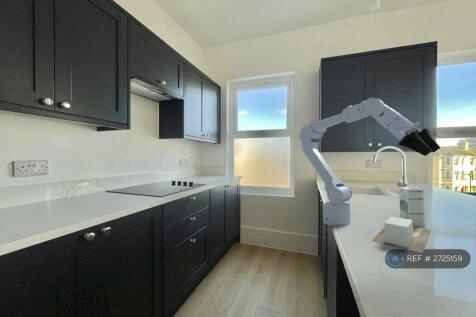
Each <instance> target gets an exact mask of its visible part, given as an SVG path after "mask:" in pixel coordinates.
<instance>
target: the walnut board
mask: <svg viewBox="0 0 476 317" xmlns="http://www.w3.org/2000/svg"><path fill="white" fill-rule="evenodd" d="M431 231H432V230H431V229H427V228H423V227H418V226H413V240H412V242H411V244H410V246H409V248H407V247H403V246H399V245H395V244H390V243H386V242H385V227H384V228H382V229H381V230H380V232H379V233H378V234H377V235H376V236H375V237H374V238H373V239H372V240H371V242H374V243H378V244H384V245H387V246H392V247H395V248H399V249H403V250H407V251H411V252H412V251H413V252H415V253H420V254H424V251H425V248H426V245H427V244H428V240H429V237H430V234H431Z"/></svg>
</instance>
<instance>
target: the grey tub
mask: <svg viewBox="0 0 476 317" xmlns="http://www.w3.org/2000/svg"><path fill="white" fill-rule="evenodd" d="M413 227H414V226H413V220H410V219H403V218H400V217H397V216H390V217H389V218H388V219H387V220H386V221H385V222H384V228H385V242H386V243H390V244H395V245H399V246H403V247H407V248H409V246H410V244H411V242H412V240H413Z"/></svg>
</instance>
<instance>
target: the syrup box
mask: <svg viewBox="0 0 476 317" xmlns="http://www.w3.org/2000/svg"><path fill="white" fill-rule="evenodd" d="M398 189H399V214H400V217H399V218H403V219H410V220H413V227H418V228H423V227H424V228H425V227H426V218H425V217H426V216H425V215H426V214H425V195H424V194H425V193H424V189H421V188H419V187H415V186H412V187H411V186H400V187H399V188H398Z"/></svg>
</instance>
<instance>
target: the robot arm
mask: <svg viewBox="0 0 476 317" xmlns="http://www.w3.org/2000/svg"><path fill="white" fill-rule="evenodd" d="M369 116H370V117H372V118H373V119H375V120H376V122H377V123H379V124H380V125H381V126H383V127H384V129H385V130H388V131H389V133H391V134H392V135H393V136H394V137H395V138H396V139H398V140H399V142H398V143H397V145H398V146H400V147H404V148H407V149H410V150H412V151H415V153H418V154H420V155H421V156H424V157H426V156H428V155H430V154H431V153H436V151H438V150H441V146H440V145H439V144H438V142H436V140H435V139H434V138H433V137H432V135H431V134H430V131H429V129H428V128H427V127H425V128H423V129H422V130H421V129H420V128H419V127H418V126H420V124H421V123H420V122H419V121H417V122H415V123H413V122H412V121H410V120H409V119H407V117H404V116H403V115H402V114H400V113H399V112H397V110H394V109H393V108H391V107H390V106H389V105H387V104H385V103H384V101H383V100H381V99H380V98H378V97H369V98H367V99H366V100H362V101H361V102H359V103H357V104H354V105H351V104H350V105H347V107H346V108H344V109H343V110H342V112H341V113H339V114H336V115H333V116H331V117H330V116H329V117H326V118H323V119H320V120H317V121H313V122H311V123H308V125H307V124H306V125H304V126H302V127H301V129H300V131H299V135H298V138H299V139H300V141H301V147H302V152H303V153H304V154H305V156H306V158H307V159H308V160H309V162H310V163H311V165H312V167H313V168H314V170H315V172H316V173H317V174H318V176H319V177H320V178H321V180H322V181H323V183H324V190H325V192H326V195H327V199H328V200H327V201H325V202H324V204H323V222H322V223H323V224H324V225H327V226H332V227H335V226H337V225H338V226H349V225H351V202H350V199H351V198H352V196H353V190H352V189H351V187H350V186H348V185H347V184H345V183H344V181H342V180H341V179H339V178H338V177H337V176H336V174H335V173H334V171H333V170H332V169H331V167H330V166H329V164H328V163H327V161H326V160H325V159H324V157H323V155H322V154H321V153H320V152H319V151H318V149H317V148H318V145H319V143H320V141H321V140H322V138H323V136H324V133H326V132H327V129H328V128H329V127H333V126H335V125H338V124H341V123H343V122H345V123H348V124H350V123H352V122H357V121H360V120H363V119H365V118H368V117H369Z"/></svg>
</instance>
